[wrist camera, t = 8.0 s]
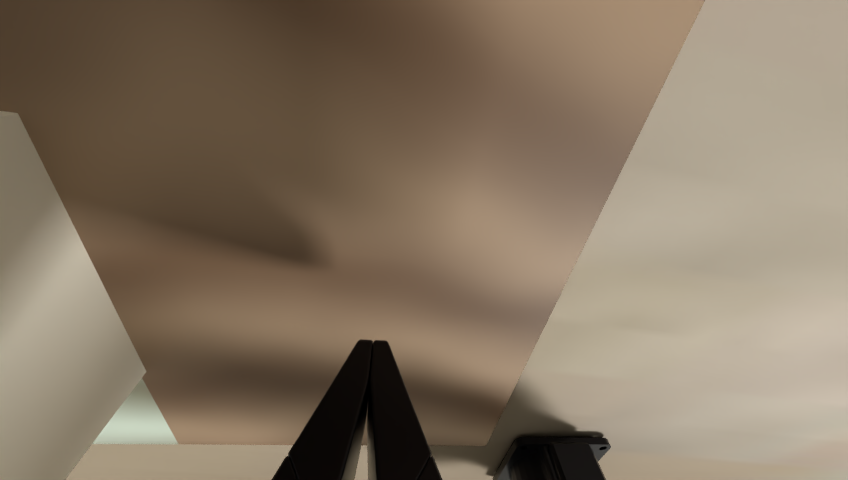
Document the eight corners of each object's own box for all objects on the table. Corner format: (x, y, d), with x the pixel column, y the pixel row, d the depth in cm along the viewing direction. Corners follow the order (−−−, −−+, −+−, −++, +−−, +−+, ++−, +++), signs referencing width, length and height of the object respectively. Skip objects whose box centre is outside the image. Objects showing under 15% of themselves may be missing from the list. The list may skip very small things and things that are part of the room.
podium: (480, 418, 19) (486, 445, 18) (25, 411, 16) (-6, 443, 15) (697, -82, 8) (757, -106, 6) (-787, -433, 5) (-1242, -611, 3)
